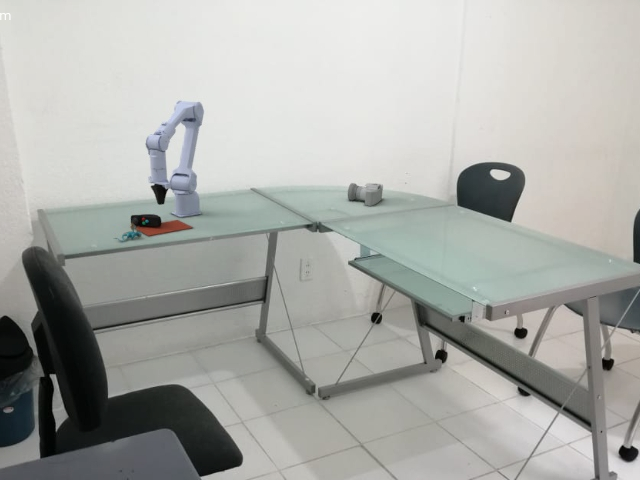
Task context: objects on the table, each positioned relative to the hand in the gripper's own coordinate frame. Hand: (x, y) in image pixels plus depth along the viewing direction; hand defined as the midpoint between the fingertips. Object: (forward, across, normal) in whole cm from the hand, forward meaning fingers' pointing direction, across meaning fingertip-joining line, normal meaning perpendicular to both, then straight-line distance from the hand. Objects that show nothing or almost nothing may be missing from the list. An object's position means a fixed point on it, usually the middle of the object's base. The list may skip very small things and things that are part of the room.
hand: (160, 204), depth 228 cm
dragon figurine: (+8, +10, -18) cm, 22 cm away
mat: (+8, +5, -2) cm, 10 cm away
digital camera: (+8, +17, +92) cm, 94 cm away
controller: (+6, -3, -1) cm, 7 cm away
